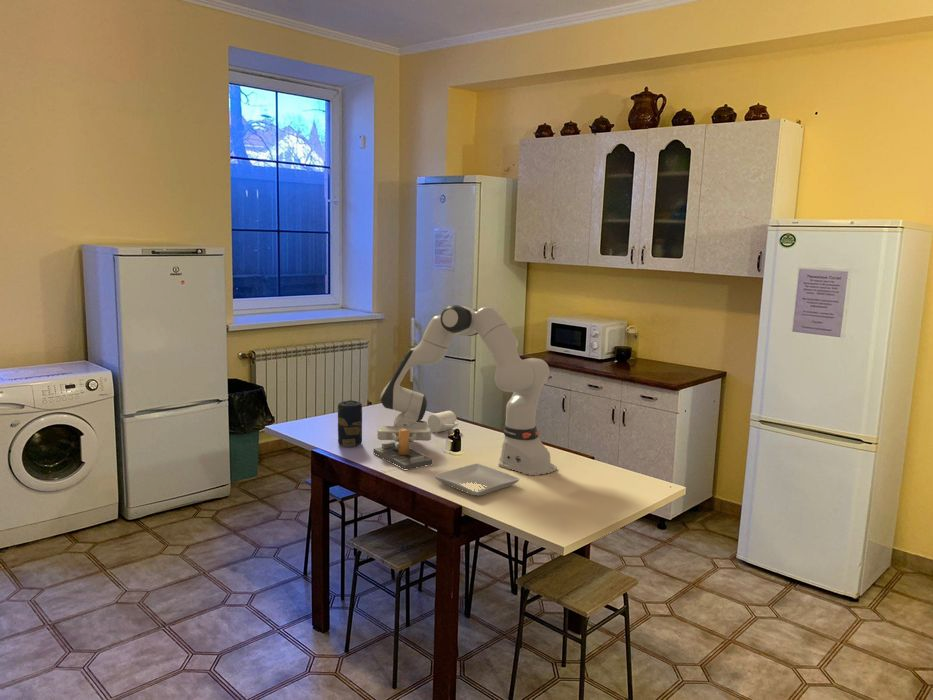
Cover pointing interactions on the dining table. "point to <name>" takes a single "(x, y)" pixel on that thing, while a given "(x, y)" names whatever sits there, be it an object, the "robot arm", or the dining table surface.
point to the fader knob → (404, 441)
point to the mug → (442, 421)
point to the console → (402, 456)
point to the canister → (349, 423)
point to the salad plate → (477, 478)
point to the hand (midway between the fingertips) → (404, 439)
